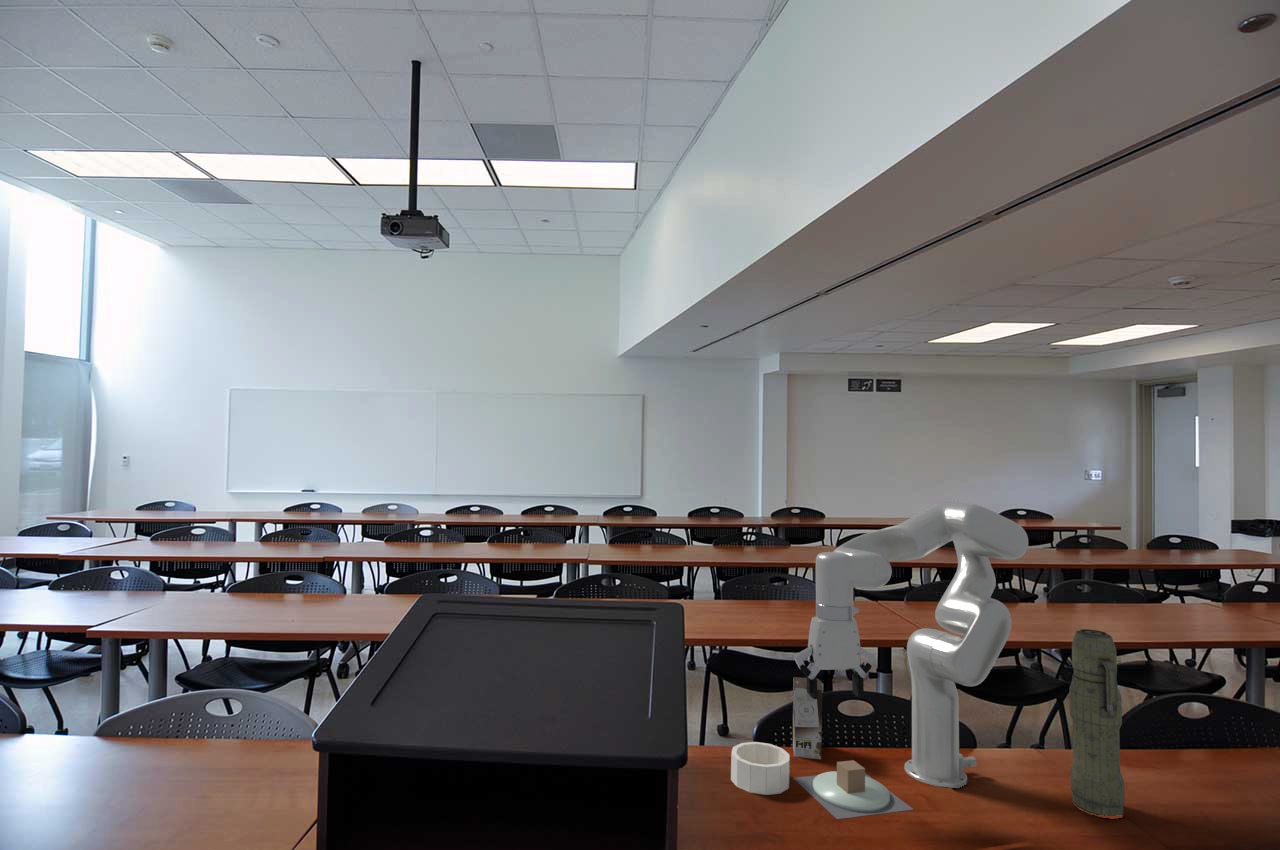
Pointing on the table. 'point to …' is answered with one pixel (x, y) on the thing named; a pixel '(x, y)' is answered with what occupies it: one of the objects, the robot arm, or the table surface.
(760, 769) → the bowl
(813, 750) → the coffee box
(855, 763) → the lid
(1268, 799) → the table surface
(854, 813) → the mat
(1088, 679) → the thermos
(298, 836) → the table surface
